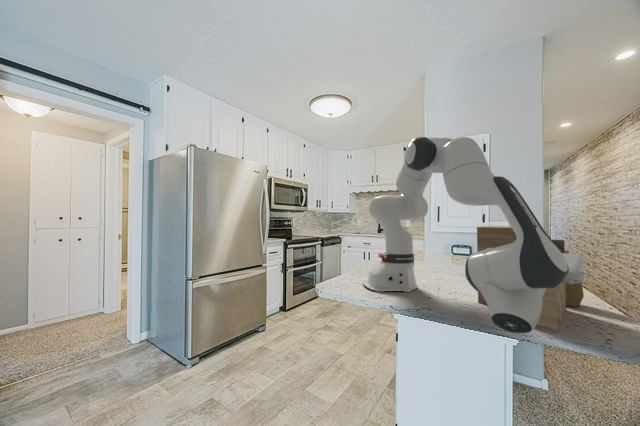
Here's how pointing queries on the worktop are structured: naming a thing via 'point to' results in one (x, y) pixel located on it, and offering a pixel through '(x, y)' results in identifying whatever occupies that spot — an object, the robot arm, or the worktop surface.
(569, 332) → the worktop surface
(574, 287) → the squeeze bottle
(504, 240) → the stepped wooden blocks
